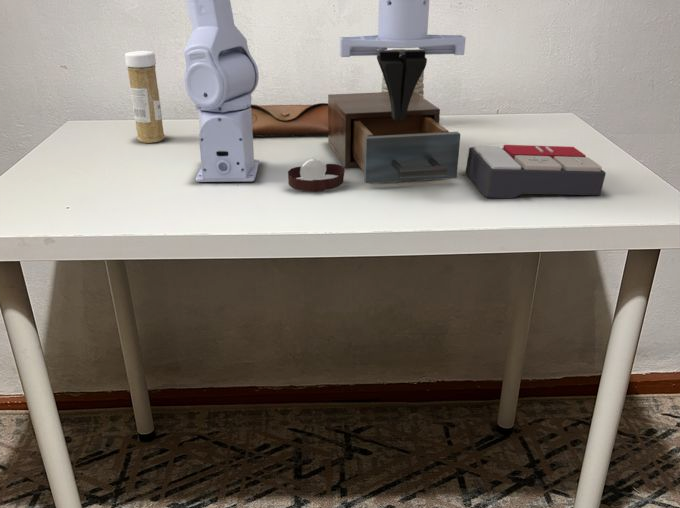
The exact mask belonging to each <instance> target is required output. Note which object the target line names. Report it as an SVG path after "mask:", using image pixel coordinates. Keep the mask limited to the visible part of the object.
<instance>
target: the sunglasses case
mask: <svg viewBox="0 0 680 508" xmlns="http://www.w3.org/2000/svg"><path fill="white" fill-rule="evenodd" d="M251 115H252V132H253V137H299V138H300V137H316V136H324V135H328V102H319V103H314V104H265V105H264V104H263V105H261V104H260V105H259V104H252V103H251Z"/></svg>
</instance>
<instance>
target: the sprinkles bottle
mask: <svg viewBox="0 0 680 508" xmlns="http://www.w3.org/2000/svg"><path fill="white" fill-rule="evenodd" d="M124 59H125V60H124V61H125V66H126V70H127V72H128V79H129V90H130V96H131V98H130V99H131V105H132V110H133V117H134V121H135V127H136V133H137V136H136V140H137V141H138V142H139V143H143V144H153V143H160V142H162V141H164V140H165V138H166V136H165V132H164V125H163V114H162V108H161V100H160V92H159V91H160V90H159V87H158V80H157V79H158V78H157V71H156V67H157V66H156V65H157V62H156V61H157V60H156V54H155V52H154V51H151V50H133V51H129V52H126V53H125V54H124Z"/></svg>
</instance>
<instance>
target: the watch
mask: <svg viewBox="0 0 680 508" xmlns="http://www.w3.org/2000/svg"><path fill="white" fill-rule="evenodd" d="M345 171H346V168H345V167H344V166H343V165H340V164H338V163H324V162H323V161H322V160H321V159H318V158H316V157H314V156H313V157H312V158H311V159H308V160H306V161H305V162H304V163H303V164H302V165H300V166H295V167H292V168H290V169H289V170H288V171H287V181H288V185H289V187H290V188H292V189H294V190H296V191H301V192H313V193H314V192H315V193H317V192H324V191H327V190H333V189H336V188H338V187H341V185H342V184H343V183H344V178H345ZM328 175H329V176H334V177H332V178H331V177H330V178H324V179H322V178H323V177H324V176H328ZM301 178H303V179H301Z"/></svg>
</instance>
